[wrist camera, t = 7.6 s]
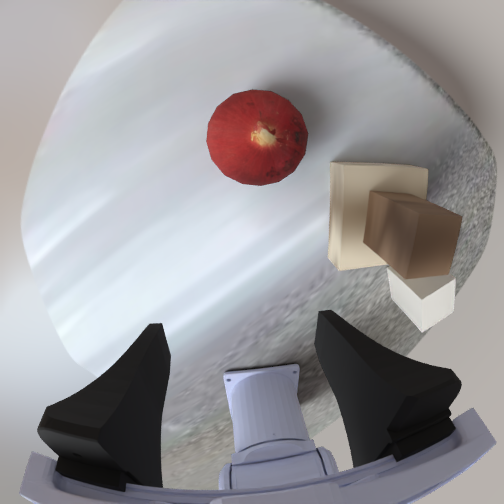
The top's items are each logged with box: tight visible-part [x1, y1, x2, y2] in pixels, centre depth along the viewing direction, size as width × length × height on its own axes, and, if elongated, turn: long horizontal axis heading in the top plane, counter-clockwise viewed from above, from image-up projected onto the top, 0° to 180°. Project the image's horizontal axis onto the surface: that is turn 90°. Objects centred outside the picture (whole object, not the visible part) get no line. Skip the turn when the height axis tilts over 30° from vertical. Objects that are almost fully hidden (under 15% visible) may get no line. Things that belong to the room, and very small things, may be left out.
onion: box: [206, 90, 308, 186], centre depth 15 cm, size 6×6×8 cm
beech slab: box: [328, 162, 428, 271], centre depth 21 cm, size 8×8×3 cm
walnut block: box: [363, 191, 462, 279], centre depth 17 cm, size 4×4×6 cm
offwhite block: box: [387, 266, 456, 332], centre depth 22 cm, size 4×4×6 cm
